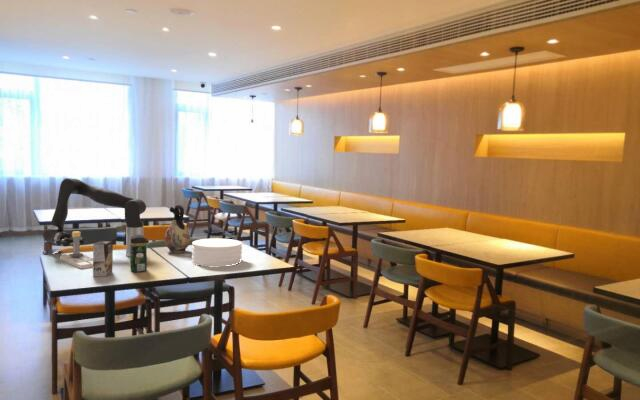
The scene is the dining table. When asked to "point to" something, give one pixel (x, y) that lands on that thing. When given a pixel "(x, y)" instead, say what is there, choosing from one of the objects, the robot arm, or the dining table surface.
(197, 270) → the dining table surface
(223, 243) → the plate stack
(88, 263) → the beige flat slab
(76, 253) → the yellow capped tube
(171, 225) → the ceramic jug
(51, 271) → the dining table surface
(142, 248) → the coffee jar
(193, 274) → the dining table surface
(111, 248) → the coffee box
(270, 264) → the dining table surface
